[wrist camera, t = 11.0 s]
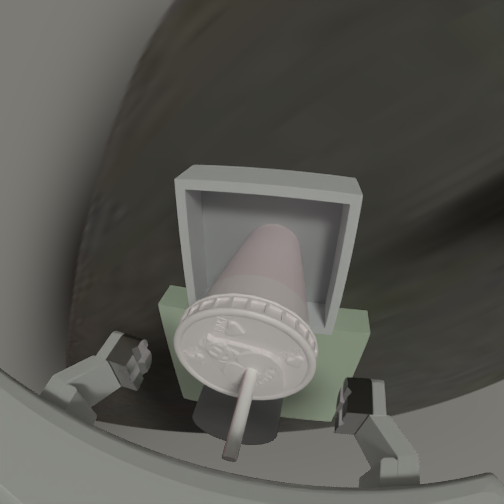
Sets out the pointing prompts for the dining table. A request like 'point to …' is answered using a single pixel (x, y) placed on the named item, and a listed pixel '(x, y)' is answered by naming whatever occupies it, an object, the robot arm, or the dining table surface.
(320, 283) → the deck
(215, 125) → the dining table surface
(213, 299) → the smoothie
